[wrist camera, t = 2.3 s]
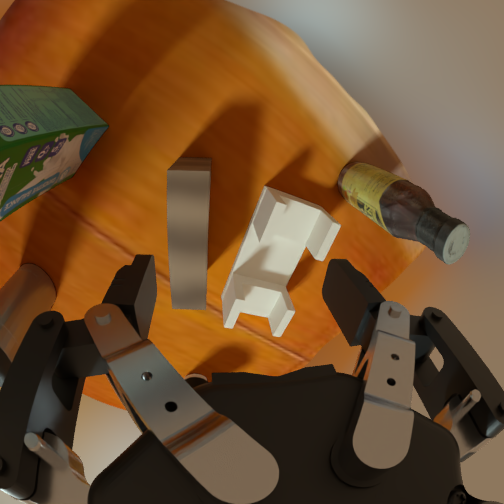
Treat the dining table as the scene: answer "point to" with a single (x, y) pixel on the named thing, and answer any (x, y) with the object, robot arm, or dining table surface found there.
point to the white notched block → (275, 257)
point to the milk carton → (41, 141)
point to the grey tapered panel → (188, 230)
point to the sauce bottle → (403, 210)
